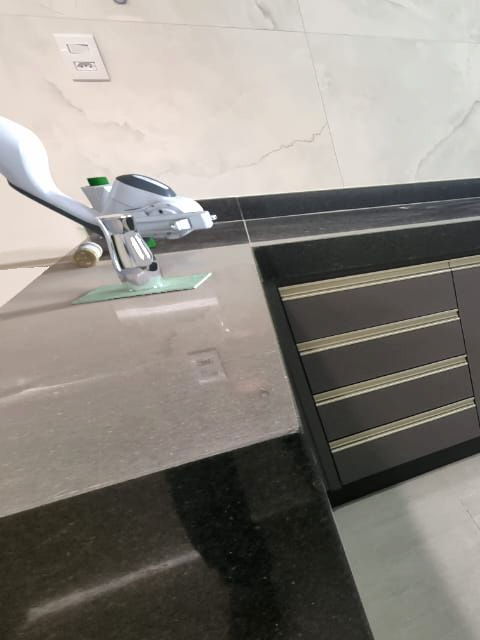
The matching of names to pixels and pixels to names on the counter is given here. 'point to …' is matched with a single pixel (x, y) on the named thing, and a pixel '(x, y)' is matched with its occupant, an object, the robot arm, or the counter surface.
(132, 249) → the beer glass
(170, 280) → the drying mat
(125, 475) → the counter surface
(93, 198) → the milk carton
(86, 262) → the sprinkles bottle
